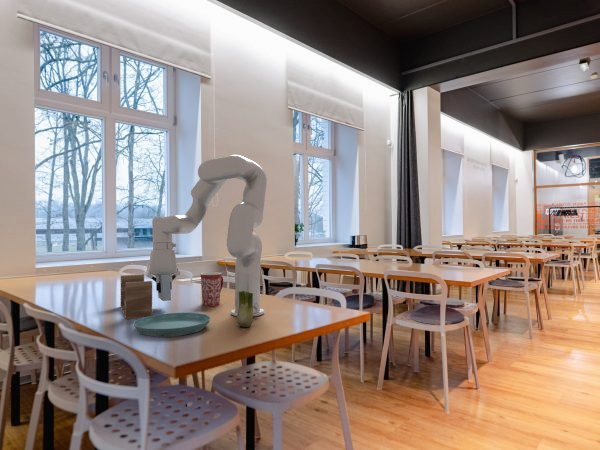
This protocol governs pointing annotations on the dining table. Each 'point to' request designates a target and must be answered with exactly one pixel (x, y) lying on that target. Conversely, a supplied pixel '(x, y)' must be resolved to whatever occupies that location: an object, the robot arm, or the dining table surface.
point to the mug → (211, 288)
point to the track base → (136, 296)
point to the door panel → (165, 287)
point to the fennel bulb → (245, 309)
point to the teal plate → (171, 324)
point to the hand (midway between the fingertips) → (164, 291)
